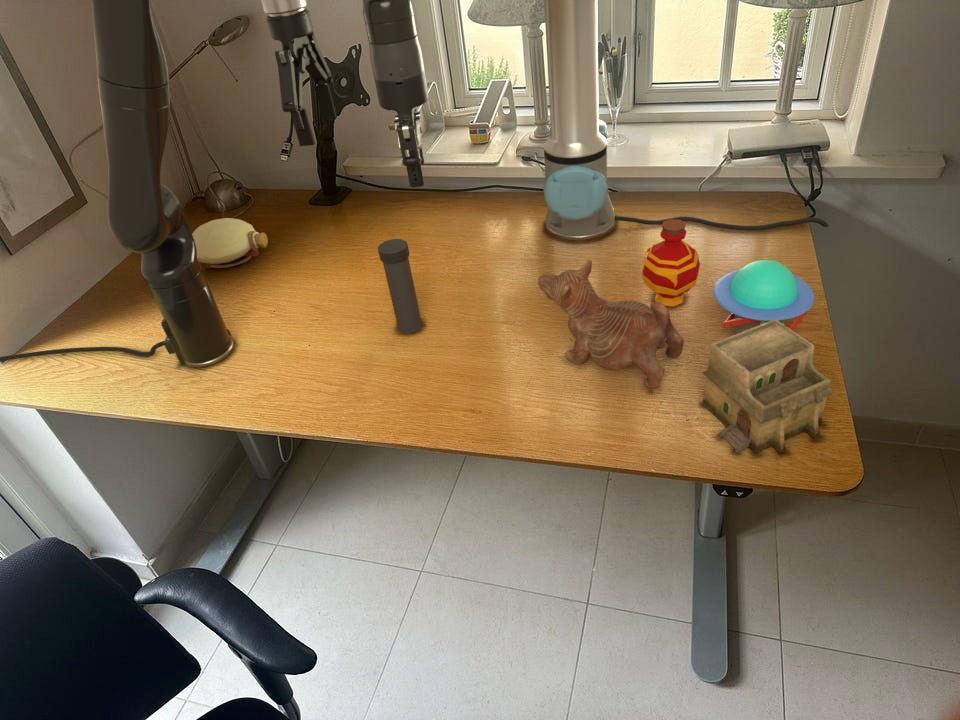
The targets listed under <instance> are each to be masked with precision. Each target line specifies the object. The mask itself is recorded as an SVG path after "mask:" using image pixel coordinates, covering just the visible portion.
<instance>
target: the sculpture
mask: <svg viewBox="0 0 960 720" xmlns="http://www.w3.org/2000/svg"><path fill="white" fill-rule="evenodd" d="M592 266H593V261H592V260H591V259H588V260H586V262H585V263H584V264H583V265H582V266H581V268H579V269H566V270H564V271H562V272H561V273H559V274H545V273H544V274H541V275H540V276H539V277H538V279H537V284H538V287H539V289H540V290H541V291H542V292H543V294H544V295H545V297H546V298H547V299H549V300H550V301H552V302H554V303H555V304H556V305H557V306H558V307H559V308H560V309H562V311H564V312H565V313H566V314H567V315H568V322H567V326H568V330H569V332H570V333H571V336H573V337H574V338H575V342H574V345H573V349H569V350H567V351H566V352H565V359H566V361H569V362H570V363H574V364H576V365H582V364H584V363H585V362H587V360H588V359H589V356H590V355H591V358H592V359H593V360H594V362H595V363H596V364H598V365H599V366H600V367H603V368H604V369H609V370H621V369H625V368H627V367H630V366H631V365H633V364H636V366H637V367H638V368H639V369H640V370H641V371H642V372H643V373H644V374H645V375H646V376H647V377H646V378H645V380H644V386H645V387H646V388H648V389H657V388H658V387H659V385H660V383H661V381H662V379H663V378H664V375H665V368H664V366H663V365H662V364H661V363H660V362H659V361H658V360H657V357H656V356H657V355H656V354H657V351H659V350H661V349H663V348H664V347H665V346H666V345H667V348H666V350H665V355H666V356H667V357H669V358H671V359H678V358H679V357H680V356H681V354H682V352H683V348H684V342H685V340H684V337H683V336H682V335H681V334H680V333H679V331H678V330H677V329H676V327H675V326H674V324H673V322H672V320H671V315H670V314H671V313H670V311H669V309H668V306H665V305H664V304H663V303H661V302H657V301H655V300H654V301H653V302H651V304H650V305H647V304H645V303H643V302H640V301H636V300H621V301H615V302H614V301H613V302H612V301H609V300H606V299H604V298H602V297H600V296H598V295H597V293H596V290H595V289H594V288H593V286H592V284H591V282H590V280H589V276H590V274H591V272H592Z"/></svg>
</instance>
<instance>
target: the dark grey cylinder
mask: <svg viewBox="0 0 960 720" xmlns="http://www.w3.org/2000/svg"><path fill="white" fill-rule="evenodd" d="M382 265H383V269H384V273H385V278H386V282H387V287H388V290H389V295H390V299H391V304H392V307H393V308H392V309H393V312H394V317H395V321H396V324H397V329H398V331H399V333H401V334H403V335H412V334H415V333H418V332H419V331H421V329H422V327H423V321H422V316H421V312H420V306H419V302H418V297H417V293H416V287H415V282H414V279H413V278H414V277H413V273H412V268H411V263H410V259H409V257H408V258H407V259H406V260H404V261H402V262H399V263H395V264H386V263H383V262H382Z"/></svg>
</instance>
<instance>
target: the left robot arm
mask: <svg viewBox="0 0 960 720" xmlns="http://www.w3.org/2000/svg"><path fill="white" fill-rule="evenodd" d="M151 1H152V0H91V10H92V27H93V36H94V37H93V39H94V46H95V58H96V59H95V60H96V73H97V74H96V75H97V85H98V93H99V94H98V95H99V102H100V108H101V116H102V126H103V135H104V136H103V137H104V142H105V144H104V145H105V151H106V157H107V158H106V159H107V171H108V176H107V177H108V182H107V183H108V184H107V185H108V186H107V187H108V188H107V223H108V227H109V230H110V232H111V234H112V236H113V238H114V239H115V240H116V241H117V242H118V243H119V244H120V245H121V246H122V247H123V248H124V249H126V250H127V251H130V252H132V253H136V254H141V264H140V273H141V275H142V277H143V280H144V282H145V283H146V286H147V287H148V290H149V292H150V294H151V296H152V298H153V300H154V302H155V305H156V306H157V308H158V310H159V312H160V314H161V316H162V320H161V322H160V325H161V327H162V329H163V332H164V334H165V336H166V337H165V338H164V340H163V341H160V342H158V343H155V344H154V345H152V347H150V350H149V351H139V350H136V349H135V350H134V349H131V348H127V347H121V346H87V347H84V346H83V347H69V348H57V349H48V350H46V349H45V350H38V351H31V352H24V353H17V354H10V355H3V356H0V362H4V361H11V360H19V359H24V358H32V357H38V356H47V355H57V354H69V353H86V352H87V353H88V352H121V353H126V354H131V355H134V356H138V357H152V356H153V355H155V353H156V351H157V350H158V349H159V348H161V347H164V348H165V350H166V352H167V353H168V355H173V354H175V356H176V358H177V360H178V362H179V364H180V366H188V367H190V368H194V369H195V368H206V367H209V366H213V365H215V364H218V363H220V362H221V361H223V360H225V359H226V358H228V357H229V356H230V354H231V353H232V352H233V350H234V349H235V344H234V341H233V338H232V337H233V336H232V333H231V331H230V330H229V328H227V326H226V323H225V321H224V319H223V316H222V313H221V311H220V309H219V306H218V304H217V302H216V300H215V297H214V295H213V292H212V290H211V288H210V286H209V283H208V281H207V279H206V276H205V274H204V272H203V269H202V267H201V265H200V262H198V259H197V249H196V244H195V241H194V238H193V235H192V234H193V232H192V230H191V227H190V225H189V222H188V219H187V217H186V214H185V212H184V211H185V210H184V208H183V207H182V205H181V203H180V200H179V199H178V198H177V195H175V194H174V193H173V191H172V190H171V189H169V187H167V186H166V185H164V184H162V183H161V169H162V162H163V156H164V151H165V147H166V144H167V137H168V131H169V125H170V118H171V117H170V116H171V92H170V91H171V90H170V89H171V87H170V73H169V66H168V60H167V56H166V53H165V50H164V47H163V44H162V41H161V38H160V35H159V31H158V29H157V27H156V23H155V20H154V16H153V15H154V14H153V11H152V2H151ZM362 16H363V20H364V25H365V30H366V35H367V41H368V47H369V60H370V65H371V70H372V75H373V79H374V84H375V90H376V94H377V98H378V104H379V106H380V107H381V108H382V109H384V110H385V111H394V112H396V114H394V120H393V125H394V130H395V132H396V134H397V143H398V147H399V149H400V153H401V158H402V160H401V162H402V164H403V167H406V172H407V177H408V183H409V186H410V188H411V189H412V188H414V189H415V188H420V187H423V186H424V185H425V180H424V175H423V169H422V166H423V165H424V163H425V158H424V157H425V156H424V152H423V143H422V142H423V141H422V139H423V137H422V136H423V135H422V133H423V127H422V115H421V110H420V111H419V110H418V108H417V107H421V106H423V105H424V104H426V103H427V101H429V98H430V97H429V95H430V94H429V88H428V83H427V77H426V70H425V65H424V64H425V63H424V58H423V57H424V56H423V52H422V47H421V44H420V41H419V36H418V30H417V25H416V17H415V11H414V8H413V3H412V0H362Z"/></svg>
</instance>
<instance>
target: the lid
mask: <svg viewBox="0 0 960 720" xmlns="http://www.w3.org/2000/svg"><path fill="white" fill-rule="evenodd" d="M377 252H378V256H379V261H380V262H381V263H382V264H383V263H386V264H395V263H399V262H402V261H404V260H406V259H407V258H409V257H410V248H409V245H408V242H407V241H406V240H405V239H402V238H393V239H392V238H391V239H388V240H385V241H383V242H381V243H380V244H379V245H378V246H377Z"/></svg>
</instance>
